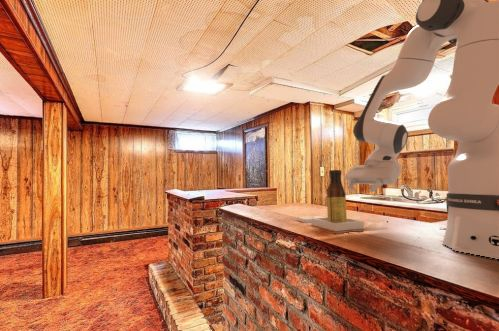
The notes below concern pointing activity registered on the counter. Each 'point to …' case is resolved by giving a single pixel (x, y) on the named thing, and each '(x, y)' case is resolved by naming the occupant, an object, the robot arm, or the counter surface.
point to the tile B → (304, 219)
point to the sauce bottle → (336, 198)
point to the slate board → (300, 221)
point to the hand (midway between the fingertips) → (359, 189)
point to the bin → (338, 225)
